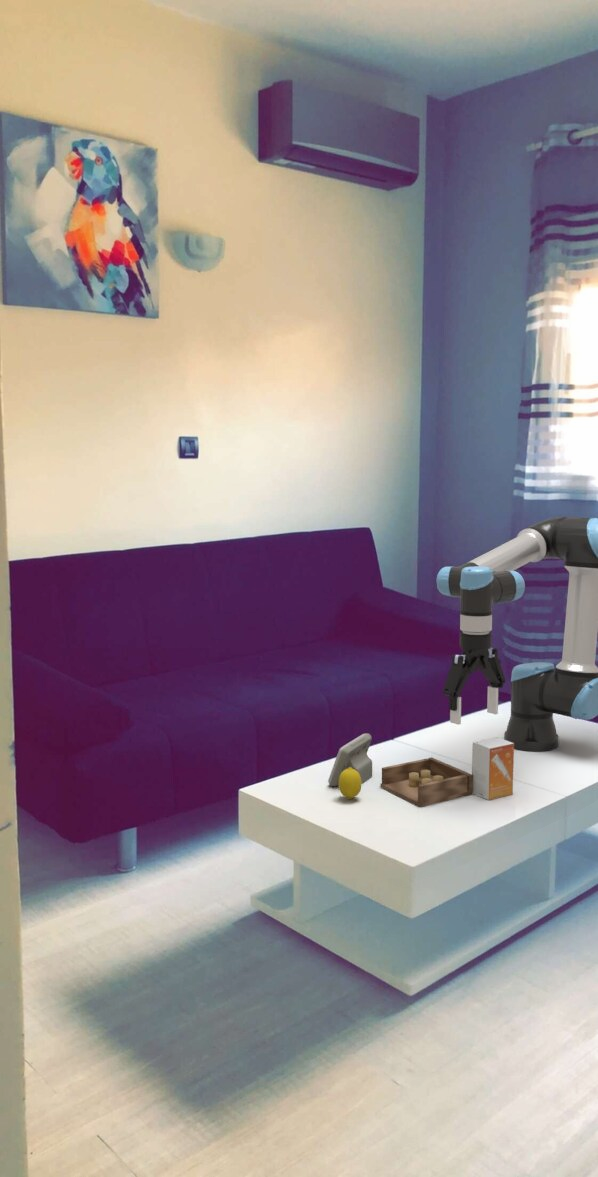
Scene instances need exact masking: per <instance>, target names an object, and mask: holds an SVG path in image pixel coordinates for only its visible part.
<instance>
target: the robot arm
mask: <svg viewBox="0 0 598 1177" xmlns="http://www.w3.org/2000/svg"><path fill="white" fill-rule="evenodd" d="M546 559H558V560H564V569H566V570H567V572H568V573H569V577H568V587H567V588H568V589H567V600H566V610H565V621H564V622H565V624H564V632H563V633H564V634H563V646H562V656H561V661H560V662H559V663H558V664H556V665H554V663H551V662H547V661H545V662H543V661H541V662H540V661H539V662H527V663H521V664H518V665H515V666H514V667H513V668H512V671H511V677H510V678H511V679H510V682H511V683H510V718H509V721H508V723H507V728H506V730H505V731H504V733H503V734H504V735H503V739H504V740H507V741H509V742H512V743H514V750H515V749H516V750H520V751H526V752H545V751H551V750H554V749H557V748H558V747H559V744H560V742H559V740H560V739H559V735H558V734H557V728H556V724H555V721H554V714H557V715H562V716H563V717H564V716H565V717H570V718H573V719H574V720H578V719H579V720H585V721H586V720H587V721H589V720H593V719H594V718H596V717H597V716H598V666H597V665H596V654H597V644H598V643H597V641H598V518H597V517H571V516H570V517H567V516H556V517H551V518H547V519H545V520H543V521H540V522H537V523H534V524H532V525H529V526H528V527H526V528H524V529H522V530H520V531H519V533H517V536H516V537H515V538H512V539H511V540H508V541H507V542H505V543H503V544H500V545H499V546H497V547H495V548H493V549H492V550H489V551H487V552H485V553H484V554H481V555H480V556H477V557H476V558H473V559H472V560H470V561H468V562H466V563H464V564H462V565H460V566H453V565H452V566H451V565H450V566H444V567H442V568H441V569H440V570H439V571H438V573H437V576H436V587H437V590H438V591H439V593H440V594H441V595H443V596H447V597H451V598H460V609H459V614H460V615H459V616H460V618H459V620H460V621H459V626H460V627H459V630H460V631H461V632H460V633H459V647H460V648H461V650H462V651H461V655H460V654H453V655H452V659H451V665H450V669H449V671H448V674H447V677H446V679H445V680H446V681H445V684H444V687H443V689H442V694H443V695H445V696H447V697H448V700H449V702H448V704H449V706H448V709H449V711H450V712H449V723H450V724H455V725H458V726H459V725H462V697H461V696H460V694H461V693H462V690H463V688H464V687H465V684H466V682H467V681H468V679H469V677H470V675H472V674H473V673H474V672H476V671H478V670H480V671H481V673H482V674H483V675H484V678H485V679H486V681H487V682H488V684H489V686H487V700H486V701H487V703H486V705H487V706H486V710H487V711H486V712H487V713H488V714H493V715H498V714H499V700H500V699H499V698H500V688H503V687H504V684H505V683H506V681H507V680H506V677H505V674H504V672H503V669H502V665H501V662H500V660H499V653H498V648H494V647H492V642H493V640H492V637H493V635H492V633H491V631H492V630H493V605H497V604H503V603H511V602H514V601H516V600H519V599H520V598H522V596H523V595H524V593H525V589H526V583H525V580H524V578H523V576H522V575H521V574H520V573H519V572H517V571H516V570H517V569H519V568H521V567H524V566H525V565H526V564H528V563H530V562H531V563H537V562H540V561H542V560H546Z"/></svg>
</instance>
